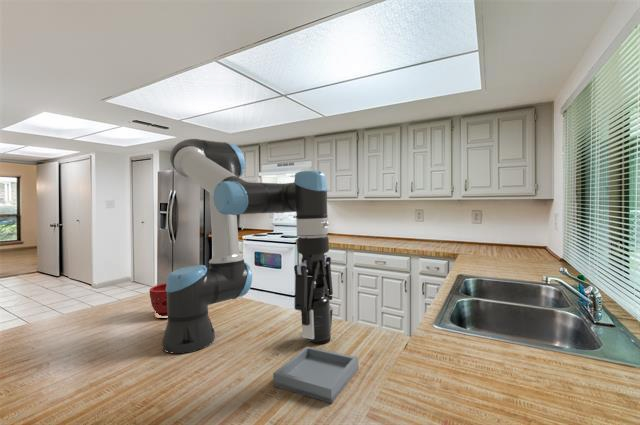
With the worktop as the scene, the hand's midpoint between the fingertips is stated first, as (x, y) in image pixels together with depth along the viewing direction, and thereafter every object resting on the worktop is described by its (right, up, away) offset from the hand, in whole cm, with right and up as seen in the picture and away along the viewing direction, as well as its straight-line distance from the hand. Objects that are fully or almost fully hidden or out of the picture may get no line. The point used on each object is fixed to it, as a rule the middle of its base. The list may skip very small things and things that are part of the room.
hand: (316, 331), depth 74 cm
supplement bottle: (0, -1, 0) cm, 1 cm away
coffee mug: (+1, -11, +23) cm, 25 cm away
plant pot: (-59, -13, +49) cm, 78 cm away
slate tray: (0, -11, 0) cm, 11 cm away
